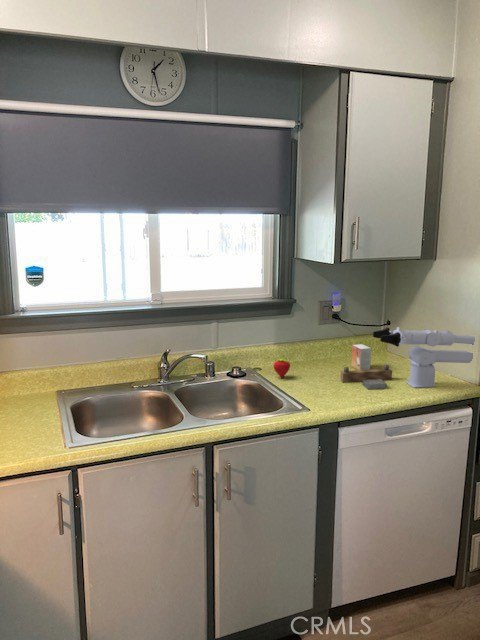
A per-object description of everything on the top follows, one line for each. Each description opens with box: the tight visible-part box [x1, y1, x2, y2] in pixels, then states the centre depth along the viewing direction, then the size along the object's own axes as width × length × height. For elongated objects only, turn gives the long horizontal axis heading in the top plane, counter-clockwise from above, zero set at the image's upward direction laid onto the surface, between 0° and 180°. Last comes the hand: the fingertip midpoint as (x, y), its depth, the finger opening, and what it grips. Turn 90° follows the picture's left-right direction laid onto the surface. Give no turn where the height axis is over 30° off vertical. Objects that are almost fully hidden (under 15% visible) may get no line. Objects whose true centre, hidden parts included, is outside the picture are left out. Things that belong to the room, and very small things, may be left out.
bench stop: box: [339, 364, 393, 383], centre depth 229 cm, size 22×3×6 cm, turn 98°
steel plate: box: [361, 379, 387, 390], centre depth 221 cm, size 8×6×2 cm
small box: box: [350, 343, 372, 370], centre depth 246 cm, size 8×6×10 cm
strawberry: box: [272, 355, 291, 378], centre depth 234 cm, size 6×8×10 cm
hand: (376, 336), depth 216 cm, fingers open, 7 cm apart
